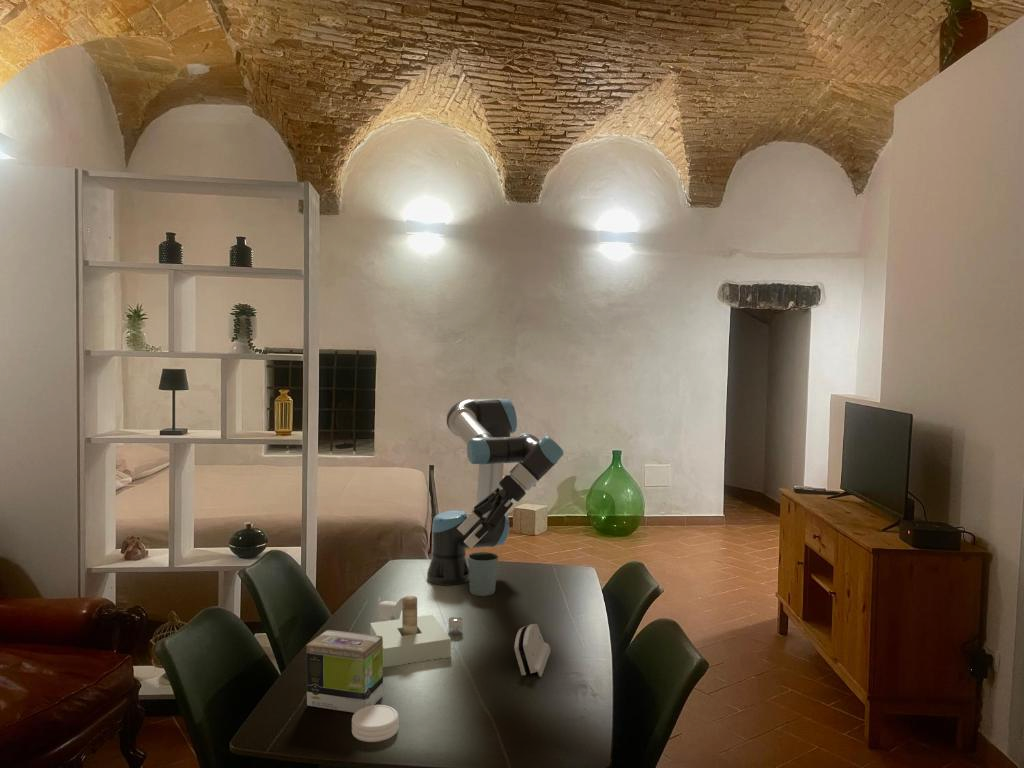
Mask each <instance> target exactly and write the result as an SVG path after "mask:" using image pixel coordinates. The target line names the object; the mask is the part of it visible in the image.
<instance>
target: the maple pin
mask: <svg viewBox="0 0 1024 768" xmlns="http://www.w3.org/2000/svg"><path fill="white" fill-rule="evenodd" d="M401 615H402V618H401V619H402V636H406V635H413V634H417V617H418V597H417V596H416V595H405V596H403V597H402V611H401Z"/></svg>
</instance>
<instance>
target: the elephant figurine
mask: <svg viewBox="0 0 1024 768" xmlns="http://www.w3.org/2000/svg"><path fill="white" fill-rule="evenodd" d="M402 598H403V597H402ZM402 598H399V600H398V602H397V601H392V600H384V601H382V596H381V595H379V596H378V599H377V600H378V601H377V603H378V604H377V605H378V606H377V608H378V609H377V619H376V620H379V622H382V621H389V620H397V619H401V615H402Z"/></svg>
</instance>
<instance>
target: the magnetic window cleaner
mask: <svg viewBox="0 0 1024 768" xmlns="http://www.w3.org/2000/svg"><path fill="white" fill-rule="evenodd" d="M515 636H516V637H515V639H514V640H515V641H514V647H513V650H514V653H515V657H516V660H517V664H518V667H519V670H520V671H519V672H520V675H521V676H527V674H528V673H530V674H533V673H537V675H538V677H543V674H544V670H545V667H546V665H547V662H548V659H549V657H550V654H551V651H552V649H551V647H550V644H549V643H548V642H545V641H544V637H543V635H542V633H541V630H540V628H539V625H538V624H537V623H531V624H529V625H528V624H527V625H524V626H523V627H520V628H519V630H518V631H517V633H516V635H515Z"/></svg>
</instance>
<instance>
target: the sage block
mask: <svg viewBox="0 0 1024 768" xmlns="http://www.w3.org/2000/svg"><path fill="white" fill-rule="evenodd" d="M369 626H370V627H369V635H377V636H382V637H383V668H389V667H396V666H403V664H404V665H409V664H408V663H410V664H415V663H414V662H416V663H421V662H420V661H423V662H427V661H426V660H429V661H435V660H434V659H436V660H440V659H439V658H442V659H447V658H446V657H449V658H451V657H452V639H451V637H450V635H449V633H447V632H446V630H445V629H444V628H443V627H442V625H441V624H440V622H439V621H438V619H437V618H436V617H435V616H434V614H428V615H419V616H417V634H413V635H406V636H402V618H399V619H397V620H391V619H390V620H389V621H382V622H381V621H376V622H370V624H369Z"/></svg>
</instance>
